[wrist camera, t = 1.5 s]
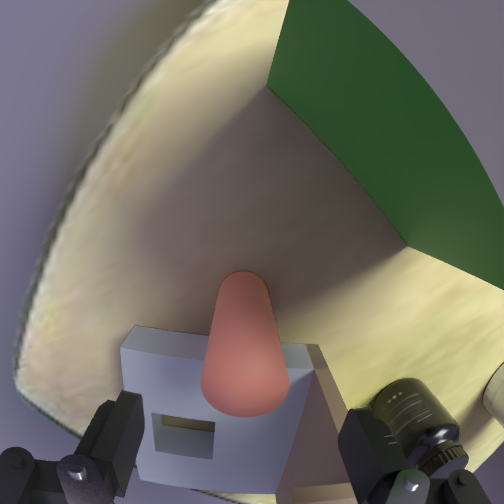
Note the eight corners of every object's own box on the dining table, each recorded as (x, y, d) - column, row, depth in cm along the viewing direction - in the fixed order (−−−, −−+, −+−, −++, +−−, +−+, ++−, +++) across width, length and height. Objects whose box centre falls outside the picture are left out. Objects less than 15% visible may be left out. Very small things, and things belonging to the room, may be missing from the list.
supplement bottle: (431, 395, 28) (482, 460, 17) (384, 430, 29) (422, 504, 17) (411, 363, 27) (472, 437, 15) (358, 404, 28) (400, 489, 16)
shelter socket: (317, 344, 26) (382, 492, 10) (282, 468, 30) (298, 581, 14) (135, 325, 25) (48, 460, 9) (147, 455, 29) (117, 565, 13)
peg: (271, 273, 24) (296, 353, 13) (264, 320, 25) (281, 419, 14) (220, 268, 24) (202, 344, 12) (216, 315, 25) (199, 413, 13)
